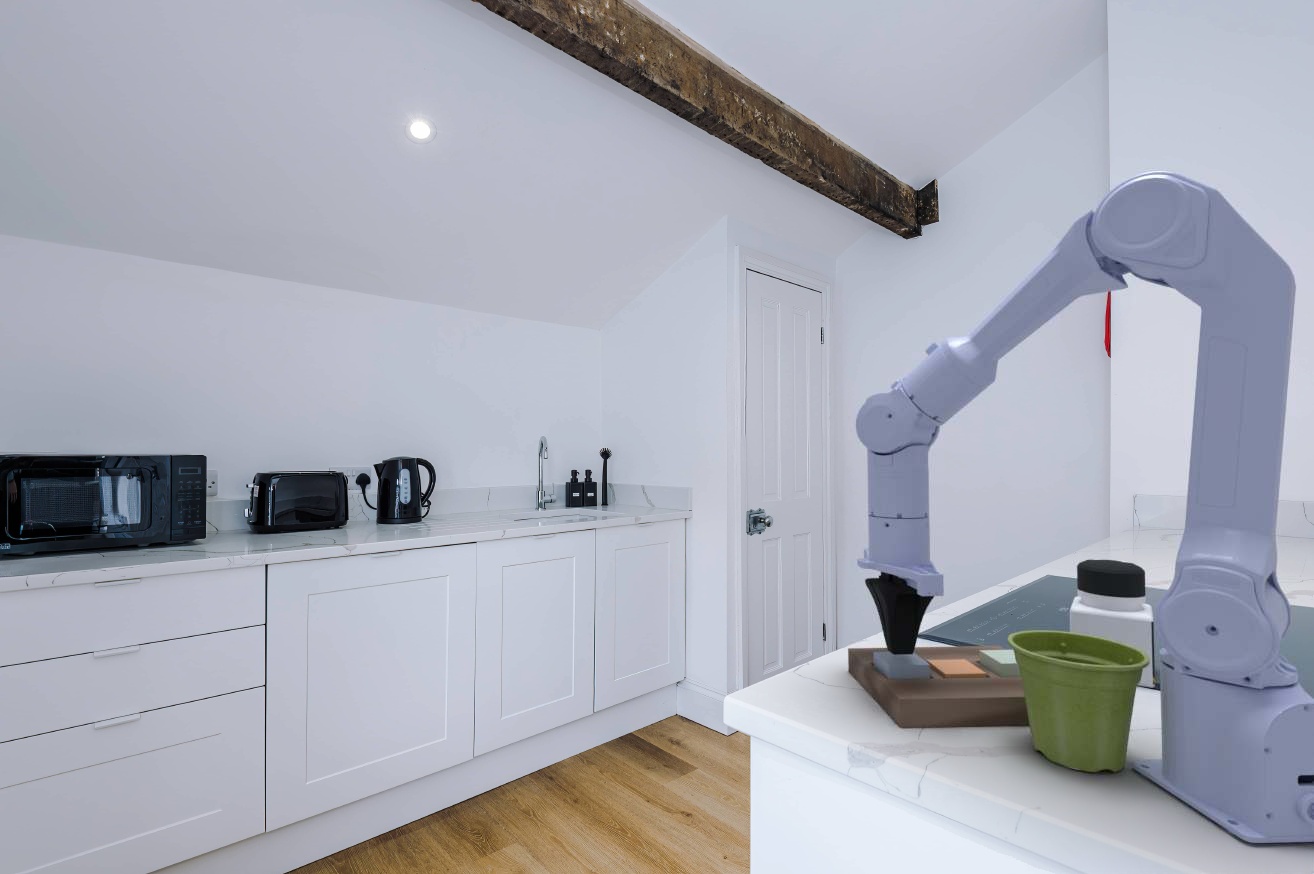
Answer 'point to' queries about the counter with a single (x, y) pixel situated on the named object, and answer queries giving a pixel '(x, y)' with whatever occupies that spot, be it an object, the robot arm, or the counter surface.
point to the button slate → (901, 666)
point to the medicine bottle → (1115, 607)
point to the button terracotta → (956, 669)
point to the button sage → (1000, 662)
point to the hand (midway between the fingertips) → (900, 652)
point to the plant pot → (1079, 695)
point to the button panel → (943, 691)
